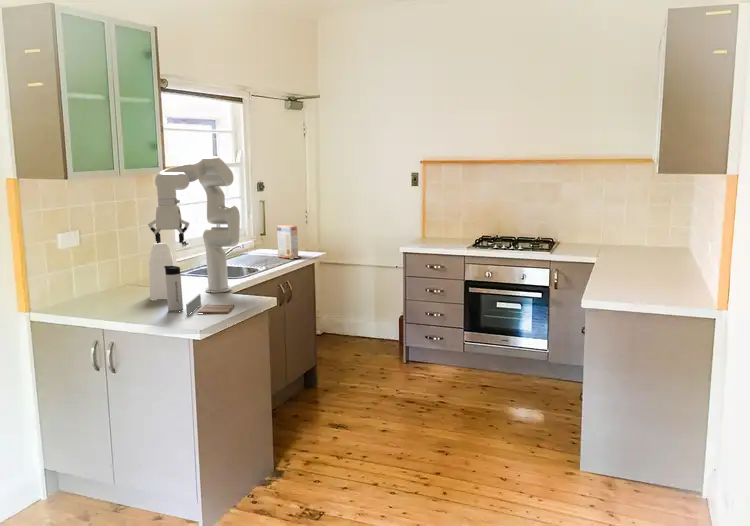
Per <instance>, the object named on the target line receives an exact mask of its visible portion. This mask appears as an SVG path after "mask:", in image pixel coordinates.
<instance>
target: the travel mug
mask: <svg viewBox="0 0 750 526" xmlns="http://www.w3.org/2000/svg"><path fill="white" fill-rule="evenodd" d="M164 268H165V272H166V274H165V275H166V288H167V300H166V301H167V311H168V313H170V312H177V313H180V312H179V311H181V312H183V311H184V303H183V289H182V287H183V286H182V276H181V275H182V274H181V267H180V266H176V265H174V266H164ZM182 310H183V311H182Z"/></svg>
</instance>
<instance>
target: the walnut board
mask: <svg viewBox="0 0 750 526" xmlns="http://www.w3.org/2000/svg"><path fill="white" fill-rule="evenodd" d="M234 306H235V304H234V303H231V304H230V303H229V304H205V305H204V306H202V307H201V308H200V309H199V310H198V311H197V314H198V313H203V314H202V315H217V314H218V315H224V314H225V315H226V314H227V315H228V314H229V313H230V312H231V311H232V310H233V309H234V308H235V307H234Z"/></svg>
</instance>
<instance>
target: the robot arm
mask: <svg viewBox="0 0 750 526" xmlns="http://www.w3.org/2000/svg"><path fill="white" fill-rule="evenodd" d="M197 180H198V181H199V183H200V184H201V186H202V188H203V189H204V191H205V193H206V219H207V222H208V223H209V224H212V225H227V227H225V226H212V227H207V228H206V229H205V230H204V231H203V234H202V237H203V238H202V240H203V243H204V248H205V253H206V271H207V283H208V284H207V287H206V288H204V289H205V292H206V293H210V292H211V294H212V293H214V294H216V293H219V294H221V293H225V292H230V291H231V290H232V286H230V285H229V279H228V277H229V276H228V264H227V253H226V252H225V249H224V247H225V248H226V247H229V248H233V247H237V245H238V244H239V242H240V226H241V224H240V222H241V220H240V219H241V218H240V217H241V215H240V211H239V209H238V207H237V206H236V205H233V204H226V199H225V198H226V197H225V193H224V190H223V189H222V188H221V187H228V186H231V185H232V184H233V182H234V174H233V171H232V170H231V168H230V167H229V166H228V165H227V163H225V161H223V159H222V158H220V157H218V156H198V157H196V158H194V159H193V160H190V161H189V162H187V163H184V164H180V165H176V166H173V167H168V168H166V169H163V170H161V171H159V172H158V173H157V174H156V176H155V179H154V183H155V186H156V193H157V206H156V210H155V212H156V213H155V220H152V221H151V222H149V223H147V226H148V227H149V229H150V230H151V232H152V233H153V234H154V238H155V242H156V243H162V241H161V234H160V232H161V231H164V230H165V231H166V230H168V231H169V230H177V232H179V233H178V240H179V242H178V243H180V244H183V243H184V241H185V236H184V234H185V232H186V231H187V230H188V228H189V226H190V222H188V221H186V220H184V219H182V214H181V209H180V206H179V205H178V204H180V202H181V200H180V199H178V198H177V190H178V191H182V190H183V191H184V190H186V189H187V188H188V187H189V186H190V183H192V182H195V181H197ZM154 225H155V227H156V228H155V227H154ZM183 225H184V226H183ZM182 227H183V228H182Z"/></svg>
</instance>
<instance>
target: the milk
mask: <svg viewBox="0 0 750 526" xmlns="http://www.w3.org/2000/svg"><path fill="white" fill-rule="evenodd" d="M170 248H171V247H170V246H169V244H168V243H167V242H160V243H157V242H156V243H153V245H152V248H151V251H150V256H149V259H148V260H149V261H148V274H149V301H150V300H152V301H158V300H157V299H167V288H166V275H165V274H166V272H165V268H164V266H175V259H174V255H173V252H172V250H171V249H170Z"/></svg>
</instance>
